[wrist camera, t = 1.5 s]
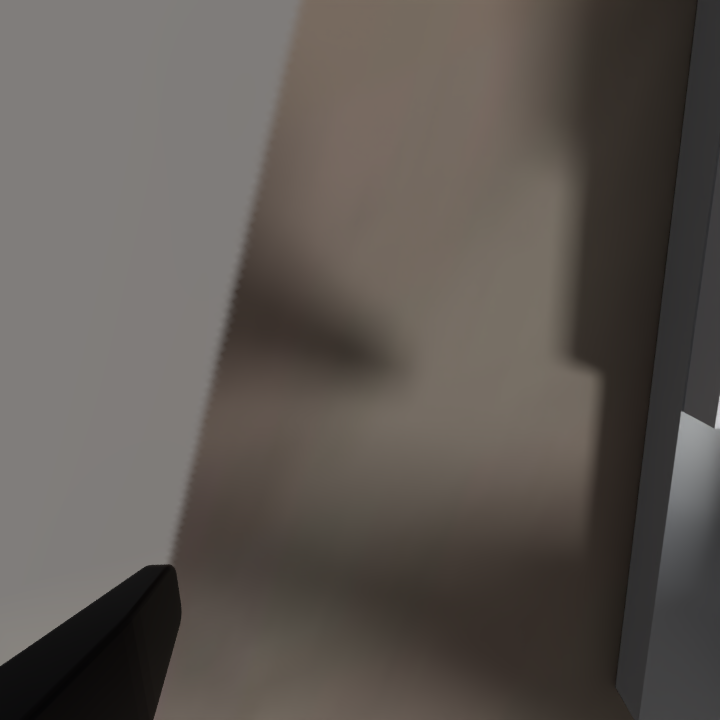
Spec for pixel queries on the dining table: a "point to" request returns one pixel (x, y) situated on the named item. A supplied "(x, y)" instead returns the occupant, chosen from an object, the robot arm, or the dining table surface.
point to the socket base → (683, 437)
